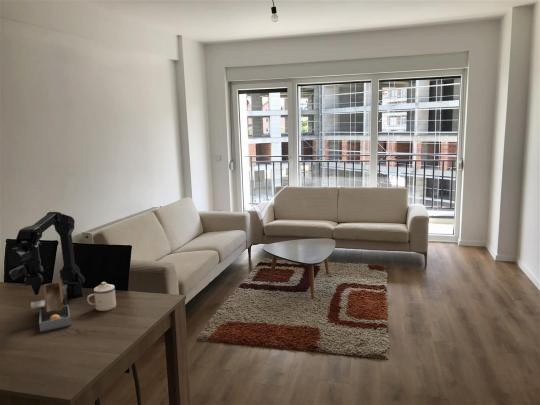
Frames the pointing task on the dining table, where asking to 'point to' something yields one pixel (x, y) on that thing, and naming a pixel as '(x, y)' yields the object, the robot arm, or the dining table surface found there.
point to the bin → (54, 324)
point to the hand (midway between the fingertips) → (36, 294)
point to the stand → (65, 301)
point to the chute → (50, 298)
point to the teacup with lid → (104, 297)
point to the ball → (54, 317)
